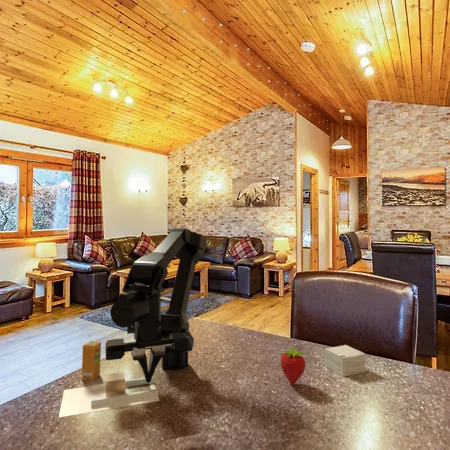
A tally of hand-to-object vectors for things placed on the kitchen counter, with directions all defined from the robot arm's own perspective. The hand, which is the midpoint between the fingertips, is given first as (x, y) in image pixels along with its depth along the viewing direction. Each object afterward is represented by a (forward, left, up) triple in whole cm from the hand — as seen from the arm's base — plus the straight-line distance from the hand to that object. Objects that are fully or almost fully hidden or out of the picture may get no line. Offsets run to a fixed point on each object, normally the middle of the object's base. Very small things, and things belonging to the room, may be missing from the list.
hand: (148, 381), depth 82 cm
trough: (+8, 0, -3) cm, 9 cm away
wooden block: (+7, 0, -2) cm, 7 cm away
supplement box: (+13, -11, -3) cm, 17 cm away
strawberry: (-35, +6, -3) cm, 35 cm away
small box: (-53, +3, -4) cm, 53 cm away
